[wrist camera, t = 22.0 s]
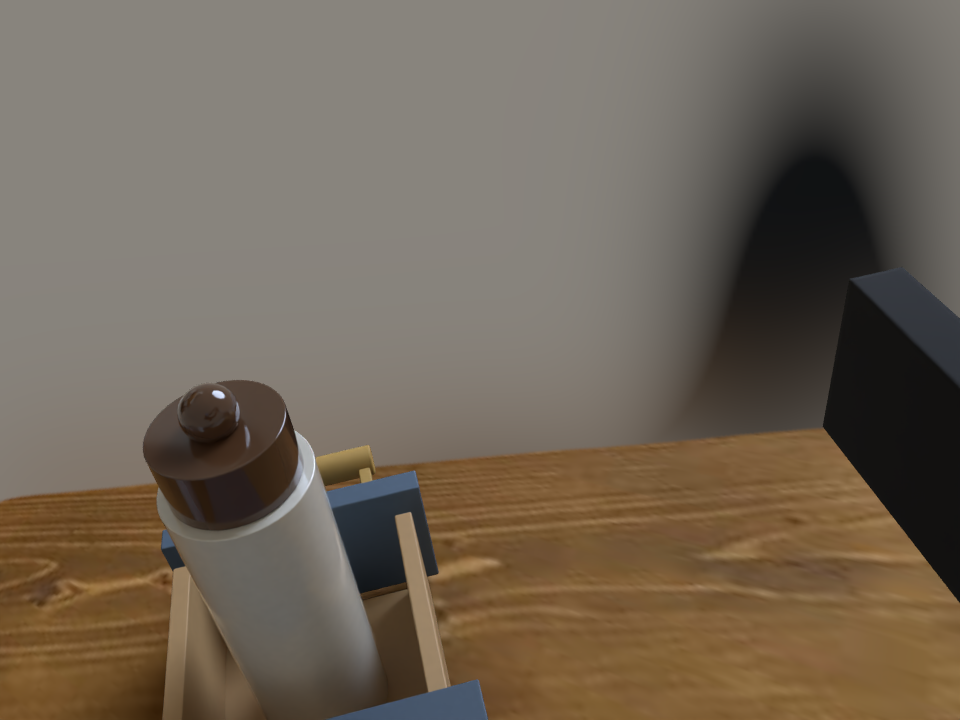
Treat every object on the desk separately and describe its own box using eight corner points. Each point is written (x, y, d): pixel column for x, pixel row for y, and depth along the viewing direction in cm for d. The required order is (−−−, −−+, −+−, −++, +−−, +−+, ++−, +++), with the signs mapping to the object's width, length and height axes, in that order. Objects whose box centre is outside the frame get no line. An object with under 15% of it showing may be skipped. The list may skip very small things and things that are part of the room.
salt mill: (380, 629, 42) (282, 322, 31) (396, 737, 38) (290, 427, 26) (265, 658, 42) (121, 357, 30) (268, 771, 37) (101, 471, 26)
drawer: (208, 543, 49) (168, 460, 45) (420, 492, 50) (400, 406, 46) (194, 929, 34) (132, 857, 30) (499, 843, 35) (480, 763, 31)
